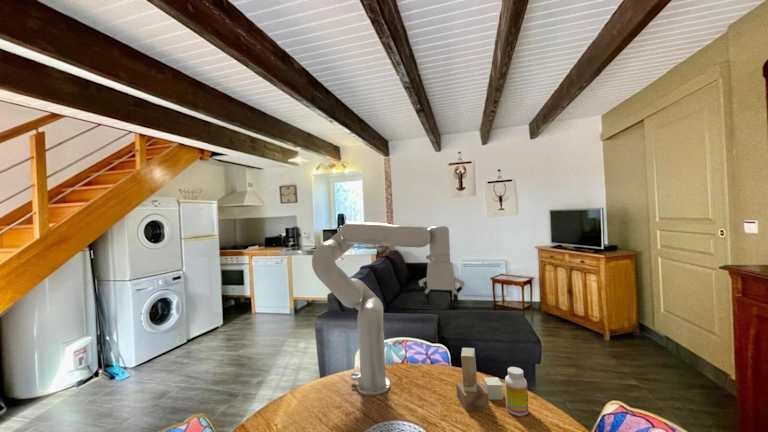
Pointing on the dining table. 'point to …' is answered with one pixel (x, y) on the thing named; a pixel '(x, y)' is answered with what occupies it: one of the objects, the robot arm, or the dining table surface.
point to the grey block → (493, 388)
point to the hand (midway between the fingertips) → (442, 303)
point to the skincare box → (469, 369)
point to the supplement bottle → (516, 392)
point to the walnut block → (472, 397)
